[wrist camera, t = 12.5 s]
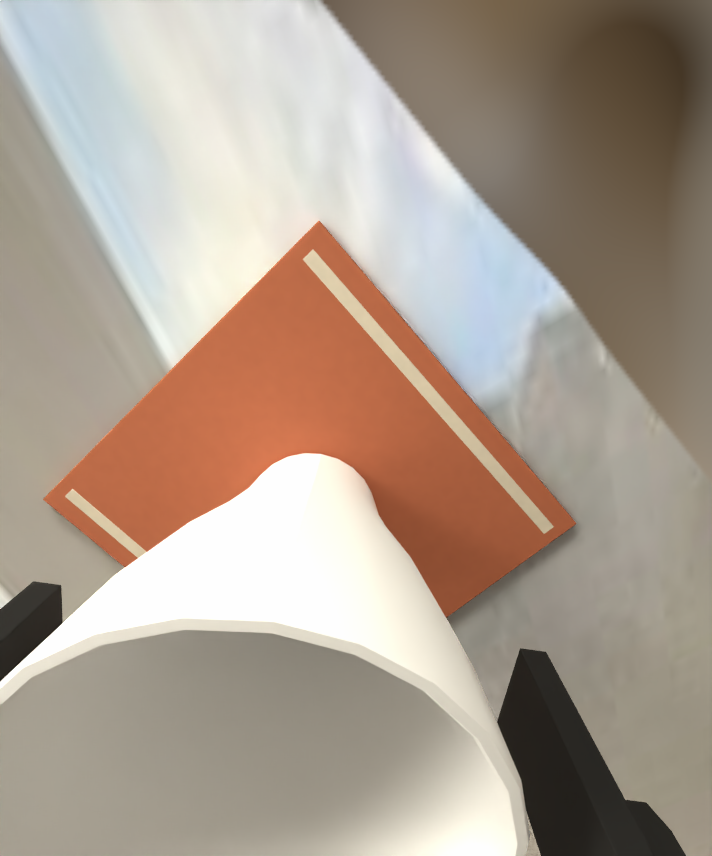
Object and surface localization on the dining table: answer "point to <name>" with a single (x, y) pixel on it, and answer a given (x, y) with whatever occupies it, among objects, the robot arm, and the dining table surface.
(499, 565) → the napkin
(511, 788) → the cup
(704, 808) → the dining table surface
